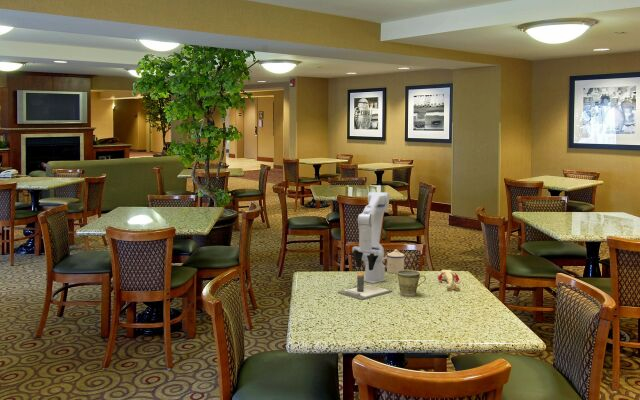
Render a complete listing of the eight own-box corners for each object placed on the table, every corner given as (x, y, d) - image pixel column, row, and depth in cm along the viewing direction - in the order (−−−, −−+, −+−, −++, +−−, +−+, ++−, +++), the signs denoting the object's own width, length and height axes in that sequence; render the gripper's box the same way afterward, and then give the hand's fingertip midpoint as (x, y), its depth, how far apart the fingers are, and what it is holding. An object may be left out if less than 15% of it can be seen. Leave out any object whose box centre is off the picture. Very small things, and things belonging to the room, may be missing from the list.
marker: (360, 289, 272) (360, 272, 271) (365, 291, 269) (365, 273, 268) (355, 290, 270) (355, 273, 269) (360, 292, 267) (360, 274, 266)
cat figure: (464, 294, 273) (455, 276, 298) (465, 276, 272) (456, 259, 296) (442, 293, 274) (435, 276, 298) (443, 275, 272) (435, 259, 297)
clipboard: (368, 285, 282) (368, 282, 282) (392, 291, 271) (392, 288, 271) (337, 293, 269) (337, 289, 269) (361, 300, 258) (362, 296, 258)
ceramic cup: (393, 295, 266) (394, 273, 265) (401, 290, 275) (401, 268, 273) (421, 299, 260) (422, 276, 259) (428, 293, 269) (429, 272, 267)
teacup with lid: (404, 270, 314) (405, 248, 312) (404, 274, 305) (404, 251, 303) (381, 269, 316) (381, 247, 314) (380, 273, 307) (380, 250, 305)
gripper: (348, 238, 277) (347, 267, 279) (371, 242, 267) (370, 272, 268) (358, 236, 282) (358, 264, 283) (381, 240, 271) (381, 270, 273)
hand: (364, 268), depth 276 cm, fingers open, 7 cm apart
